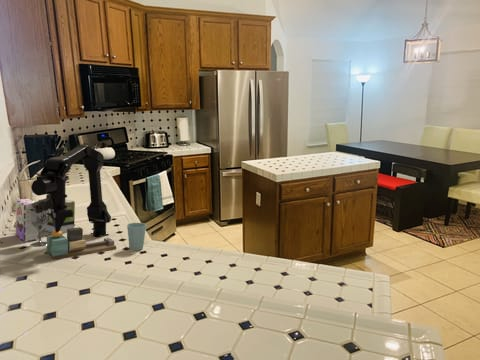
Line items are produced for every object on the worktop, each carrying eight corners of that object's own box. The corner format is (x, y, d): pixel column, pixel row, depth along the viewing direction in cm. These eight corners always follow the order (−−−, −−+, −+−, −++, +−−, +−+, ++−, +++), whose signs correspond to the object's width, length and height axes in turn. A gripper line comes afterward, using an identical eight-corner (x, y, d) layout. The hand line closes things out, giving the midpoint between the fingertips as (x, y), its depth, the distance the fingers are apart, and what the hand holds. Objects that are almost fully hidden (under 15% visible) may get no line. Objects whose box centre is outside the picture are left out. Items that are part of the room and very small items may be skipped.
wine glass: (35, 248, 145) (35, 211, 144) (25, 244, 149) (24, 208, 148) (54, 243, 152) (54, 209, 150) (44, 240, 156) (43, 206, 154)
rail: (46, 252, 141) (46, 235, 140) (106, 243, 157) (106, 227, 156) (54, 259, 133) (54, 241, 133) (116, 249, 150) (116, 232, 149)
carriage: (63, 247, 143) (63, 227, 143) (79, 245, 147) (79, 226, 147) (69, 252, 138) (69, 231, 137) (85, 249, 142) (85, 229, 142)
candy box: (15, 235, 161) (14, 199, 160) (29, 233, 166) (29, 198, 164) (24, 242, 152) (23, 204, 150) (39, 240, 156) (39, 203, 154)
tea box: (75, 231, 174) (75, 201, 172) (55, 235, 165) (55, 203, 164) (57, 225, 182) (57, 196, 180) (37, 229, 173) (37, 199, 171)
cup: (142, 245, 157) (143, 222, 156) (147, 250, 150) (148, 226, 149) (125, 247, 153) (125, 223, 152) (129, 252, 146) (129, 227, 145)
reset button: (50, 234, 138) (50, 231, 138) (60, 233, 140) (60, 230, 140) (53, 237, 135) (53, 233, 135) (63, 235, 138) (63, 232, 138)
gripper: (26, 189, 137) (27, 229, 139) (40, 196, 124) (40, 240, 125) (58, 188, 145) (58, 225, 147) (74, 194, 131) (73, 236, 133)
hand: (57, 231), depth 138 cm, fingers closed, pressing on reset button
